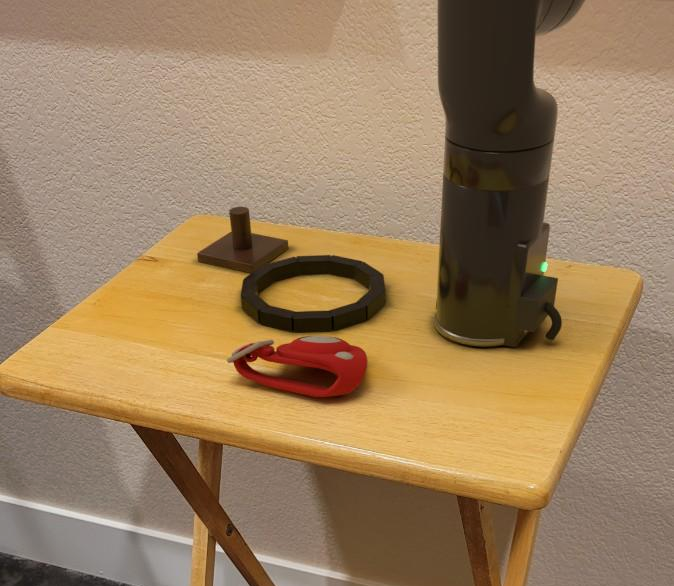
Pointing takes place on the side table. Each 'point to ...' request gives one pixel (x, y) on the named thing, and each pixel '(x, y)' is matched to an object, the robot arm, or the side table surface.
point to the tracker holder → (305, 363)
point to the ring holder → (242, 246)
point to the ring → (313, 319)
